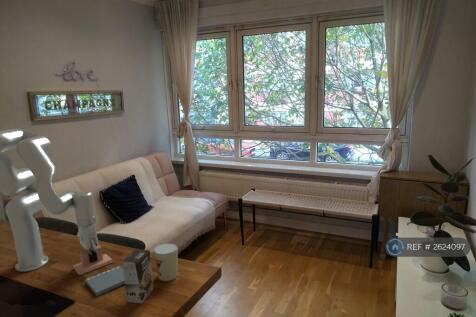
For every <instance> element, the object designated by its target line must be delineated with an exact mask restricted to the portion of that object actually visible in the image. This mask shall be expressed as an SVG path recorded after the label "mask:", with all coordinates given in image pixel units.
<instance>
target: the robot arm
mask: <svg viewBox="0 0 476 317" xmlns="http://www.w3.org/2000/svg"><path fill="white" fill-rule="evenodd" d="M52 145H53V144H52V142H51V141H50V139H48V138H47V137H46V136H44V135H42V134H38V133H36V132H32V131H29V130H27V129H23V128H17V127H16V128H15V127H14V128H8V129H3V130H0V192H1V194H2V195H4V196H14V195H16V194H19V193H21V192H22V194H20V195H18V196H16V197H14V198H13V199H11V200H9V201H8V203H6V205H5V208H4V211H5V214H6V217H7V219H8V221H9V224H10V226H11V230H12V235H13V240H14V241H13V242H14V245H15V250H16V256H17V260H18V262H17V263H16V264H15V266H14V268H15V271H17V272H21V273H22V272H30V271H34V270H37V269H39V268H42V267H43V266H45V265H47V263H48V262H49V257H48V255H46V254H44V250H43V243H42V239H41V233H40V228H39V227H40V226H39V224H38V221H37V220H36V219H35V217H34V216H33V215H34V214H36V213H37V212H39V211H41V210H42V209H44V208H45V209H46V210H47V211H48V212H49V213H50V214H52V215H55V216H60V215H61V216H62V215H63V214H65V213H67V212H68V211H69V210H72V209H74V212H75V213H74V214H75V221H76V225H77V226H76V227H77V228H78V238H79V239H78V240H79V243H80V246H82V247H83V248H84V250H86V249H87V250H88V249H89V261H90V263H92V262H95V261H97V260H98V258H97V248H96V246H98V245H99V240H98V239H99V238H98V234H97V228H96V224H97V216H96V209H95V201H94V195H93V193H92V191H88V190H87V191H86V190H84V191H83V190H82V191H79V190H73V189H70V190H65V191H63V192H61V193H59V194H57V193H56V191H55V189H54V186H53V184H52V180H53V177H54V174H55V173H56V170H57V167H56V164H54V162H53V161H52V160H51V158H50V157H49V155H48V154H49V153H50V152H51V151H52V148H53V146H52ZM15 149H16V150H15ZM12 150H15V151H16V153H17V154H18V156H19V157H20V159H21V160H22V161H23V163H24V164H25V166H26V167H22V168H17V166H16V165H15V163H14V160H13V159H12V158H11V157H10V156H8V154H6V153H5V152H6V151H12ZM92 248H93V249H92ZM91 249H92V250H91Z"/></svg>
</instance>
